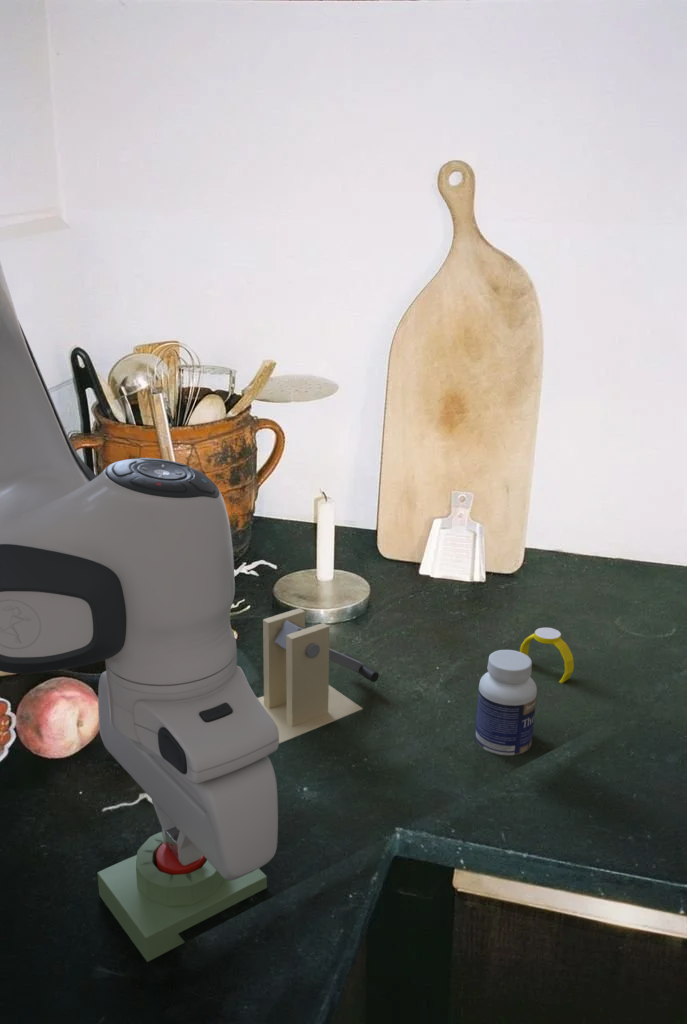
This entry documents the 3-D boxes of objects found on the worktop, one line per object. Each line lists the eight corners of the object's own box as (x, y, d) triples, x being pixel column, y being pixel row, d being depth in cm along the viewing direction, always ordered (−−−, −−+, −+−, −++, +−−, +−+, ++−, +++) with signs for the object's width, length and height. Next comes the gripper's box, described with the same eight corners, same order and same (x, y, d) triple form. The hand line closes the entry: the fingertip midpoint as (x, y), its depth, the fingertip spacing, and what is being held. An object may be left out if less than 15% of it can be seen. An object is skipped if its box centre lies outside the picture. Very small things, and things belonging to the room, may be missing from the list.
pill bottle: (529, 769, 87) (538, 677, 84) (471, 760, 88) (478, 669, 85) (532, 737, 92) (541, 649, 89) (477, 729, 93) (484, 642, 90)
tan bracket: (316, 685, 100) (317, 594, 97) (363, 718, 95) (366, 622, 91) (228, 719, 94) (225, 622, 90) (272, 757, 88) (271, 655, 84)
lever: (342, 669, 100) (353, 649, 100) (372, 689, 96) (383, 668, 97) (266, 636, 92) (277, 614, 92) (295, 656, 88) (307, 633, 88)
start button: (171, 895, 68) (170, 876, 67) (148, 867, 70) (147, 848, 70) (214, 874, 70) (214, 855, 69) (191, 848, 73) (190, 829, 72)
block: (147, 962, 65) (144, 917, 64) (99, 895, 71) (95, 852, 70) (267, 899, 71) (267, 856, 70) (213, 842, 77) (212, 801, 76)
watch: (575, 687, 101) (580, 638, 99) (561, 697, 99) (567, 647, 97) (527, 667, 105) (532, 619, 103) (513, 676, 103) (518, 628, 101)
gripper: (70, 644, 71) (85, 797, 75) (207, 777, 56) (215, 957, 60) (146, 622, 74) (156, 769, 79) (294, 741, 59) (295, 913, 64)
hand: (183, 852), depth 70 cm, fingers closed, pressing on start button
